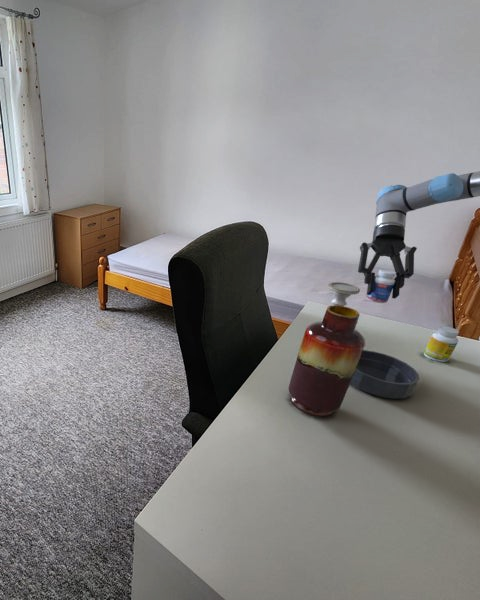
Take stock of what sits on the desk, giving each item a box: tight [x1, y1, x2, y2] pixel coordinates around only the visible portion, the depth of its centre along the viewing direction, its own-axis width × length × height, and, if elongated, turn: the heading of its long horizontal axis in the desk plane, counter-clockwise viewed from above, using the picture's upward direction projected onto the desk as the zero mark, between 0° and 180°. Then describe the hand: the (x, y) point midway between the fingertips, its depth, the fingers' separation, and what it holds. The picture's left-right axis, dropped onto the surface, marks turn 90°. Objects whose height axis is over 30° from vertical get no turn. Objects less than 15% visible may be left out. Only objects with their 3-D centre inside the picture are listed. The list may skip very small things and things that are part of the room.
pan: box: [350, 349, 421, 400], centre depth 91 cm, size 15×15×5 cm
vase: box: [288, 304, 366, 418], centre depth 79 cm, size 11×11×26 cm
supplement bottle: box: [423, 325, 460, 363], centre depth 99 cm, size 5×5×10 cm
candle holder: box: [321, 281, 361, 321], centre depth 104 cm, size 9×9×20 cm
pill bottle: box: [365, 268, 396, 304], centre depth 105 cm, size 6×5×10 cm
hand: (382, 294), depth 103 cm, fingers closed on pill bottle, 5 cm apart
